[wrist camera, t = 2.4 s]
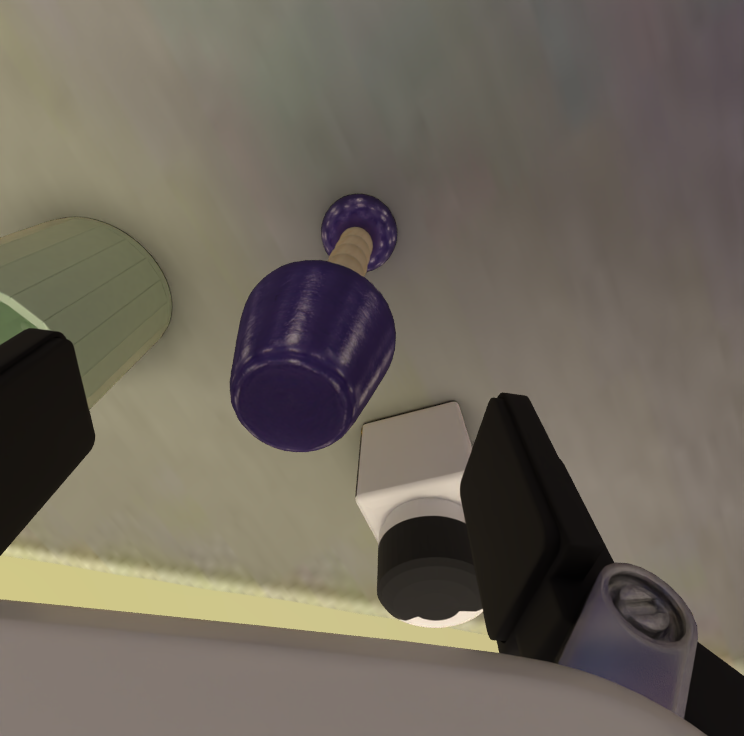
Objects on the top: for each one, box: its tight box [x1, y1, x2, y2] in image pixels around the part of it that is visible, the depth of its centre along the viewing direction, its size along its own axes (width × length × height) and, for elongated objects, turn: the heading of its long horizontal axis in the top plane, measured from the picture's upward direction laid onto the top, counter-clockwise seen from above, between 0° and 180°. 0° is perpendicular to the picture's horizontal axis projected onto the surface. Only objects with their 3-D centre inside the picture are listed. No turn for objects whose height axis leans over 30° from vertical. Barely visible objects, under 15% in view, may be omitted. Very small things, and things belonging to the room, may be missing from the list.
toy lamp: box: [230, 194, 397, 452], centre depth 17 cm, size 5×5×17 cm
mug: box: [0, 217, 172, 410], centre depth 23 cm, size 12×9×9 cm
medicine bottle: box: [355, 402, 483, 628], centre depth 27 cm, size 7×7×12 cm
